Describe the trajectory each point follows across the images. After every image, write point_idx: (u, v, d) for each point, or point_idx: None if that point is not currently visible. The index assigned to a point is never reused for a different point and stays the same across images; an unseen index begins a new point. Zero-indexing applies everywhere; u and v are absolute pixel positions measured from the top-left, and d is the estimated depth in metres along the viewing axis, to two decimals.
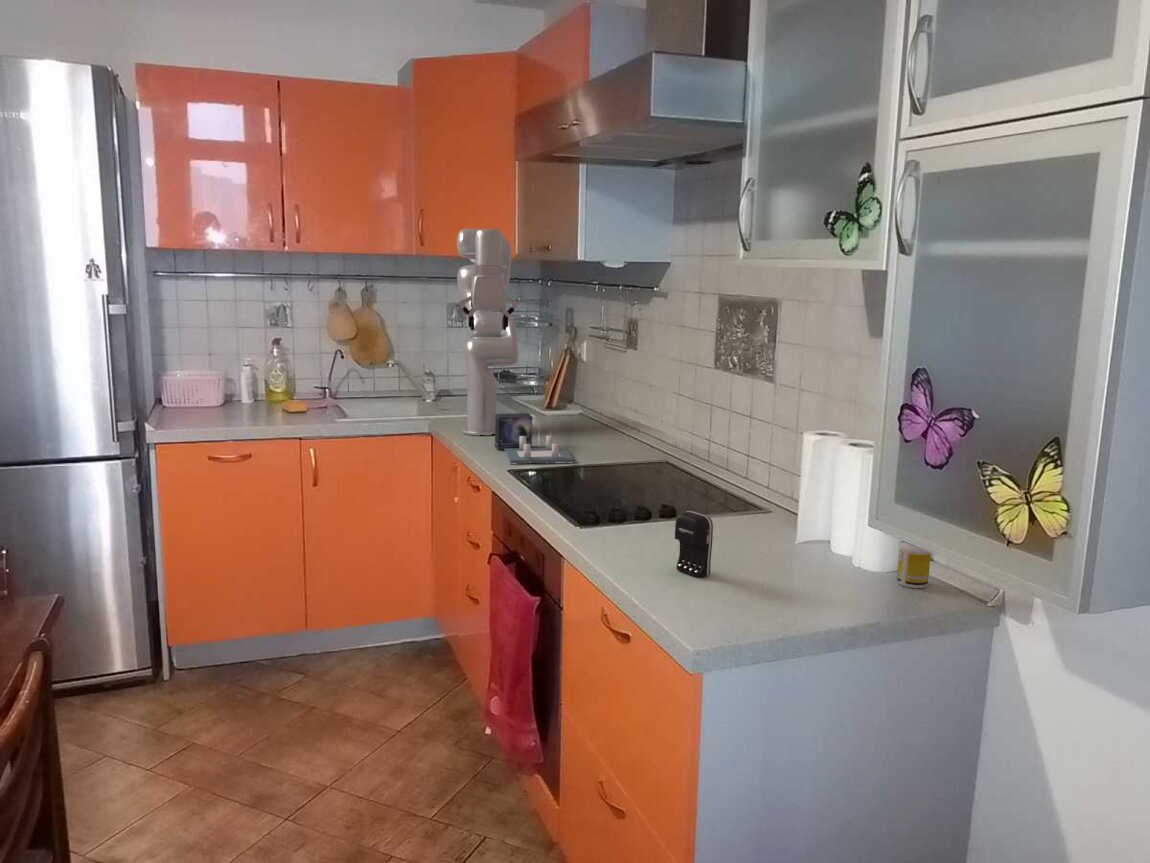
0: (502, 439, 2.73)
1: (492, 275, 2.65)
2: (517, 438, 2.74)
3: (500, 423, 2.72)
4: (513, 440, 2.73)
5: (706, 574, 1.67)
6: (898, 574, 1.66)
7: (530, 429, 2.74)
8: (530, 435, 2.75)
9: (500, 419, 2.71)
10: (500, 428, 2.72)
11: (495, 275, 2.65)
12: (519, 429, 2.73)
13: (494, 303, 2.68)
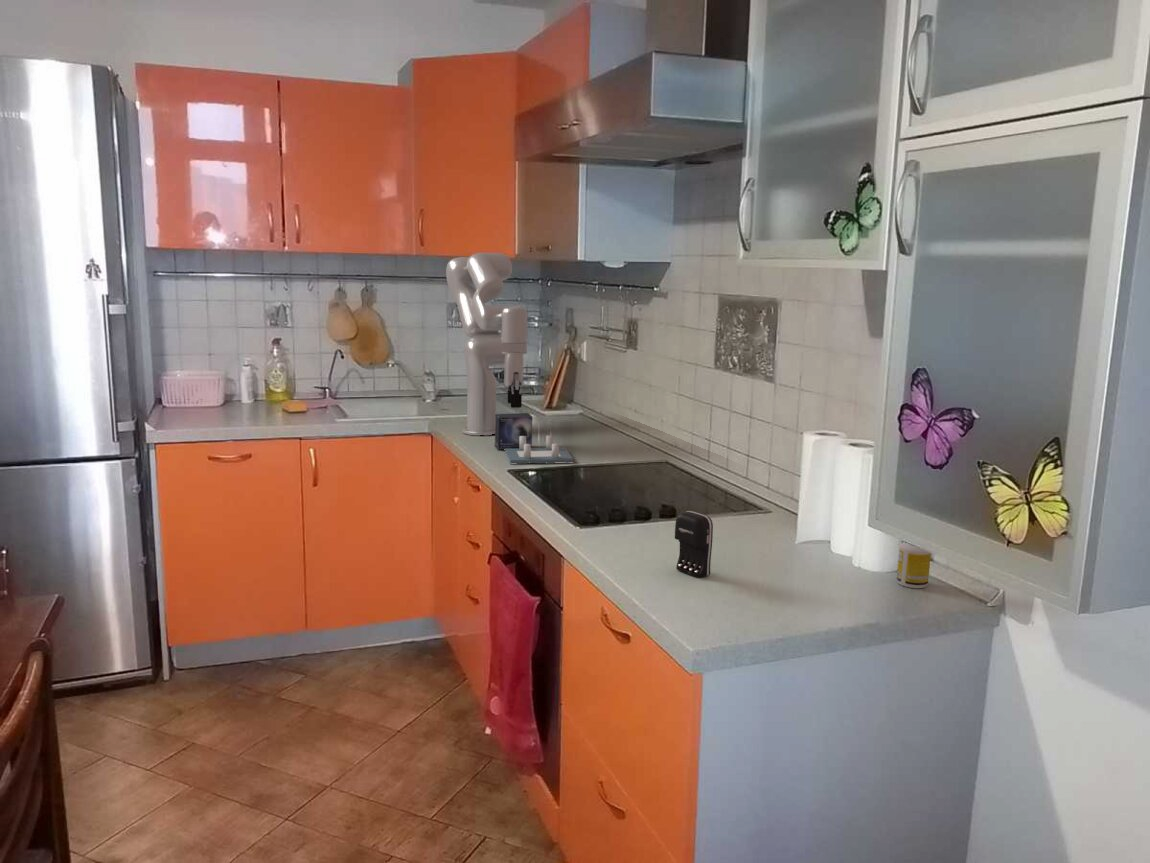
0: (502, 439, 2.73)
1: None
2: (517, 438, 2.74)
3: (500, 423, 2.72)
4: (513, 440, 2.73)
5: (706, 574, 1.67)
6: (898, 574, 1.66)
7: (530, 429, 2.74)
8: (530, 435, 2.75)
9: (500, 419, 2.71)
10: (500, 428, 2.72)
11: None
12: (519, 429, 2.73)
13: None
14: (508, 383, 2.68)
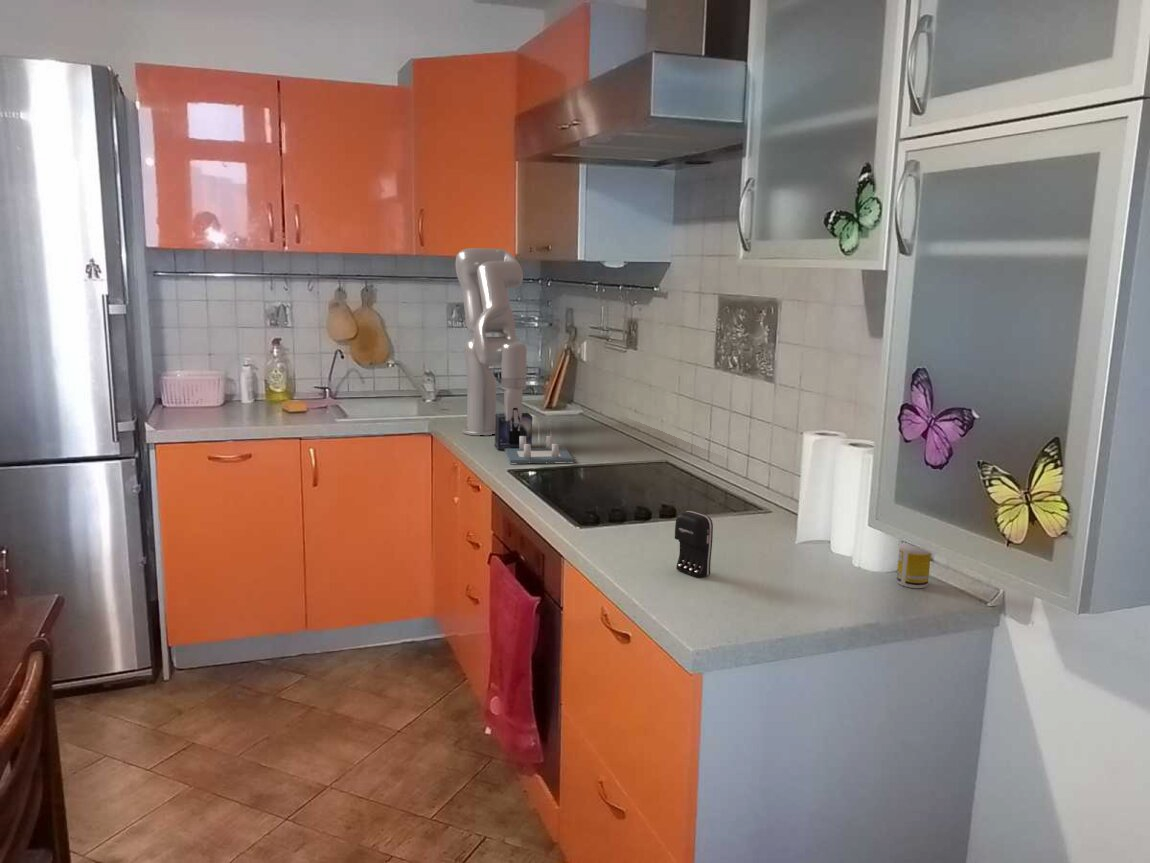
0: (502, 439, 2.73)
1: None
2: None
3: (500, 423, 2.72)
4: None
5: (706, 574, 1.67)
6: (898, 574, 1.66)
7: (530, 429, 2.74)
8: (530, 435, 2.75)
9: (500, 419, 2.71)
10: (500, 428, 2.72)
11: None
12: None
13: None
14: (507, 418, 2.70)
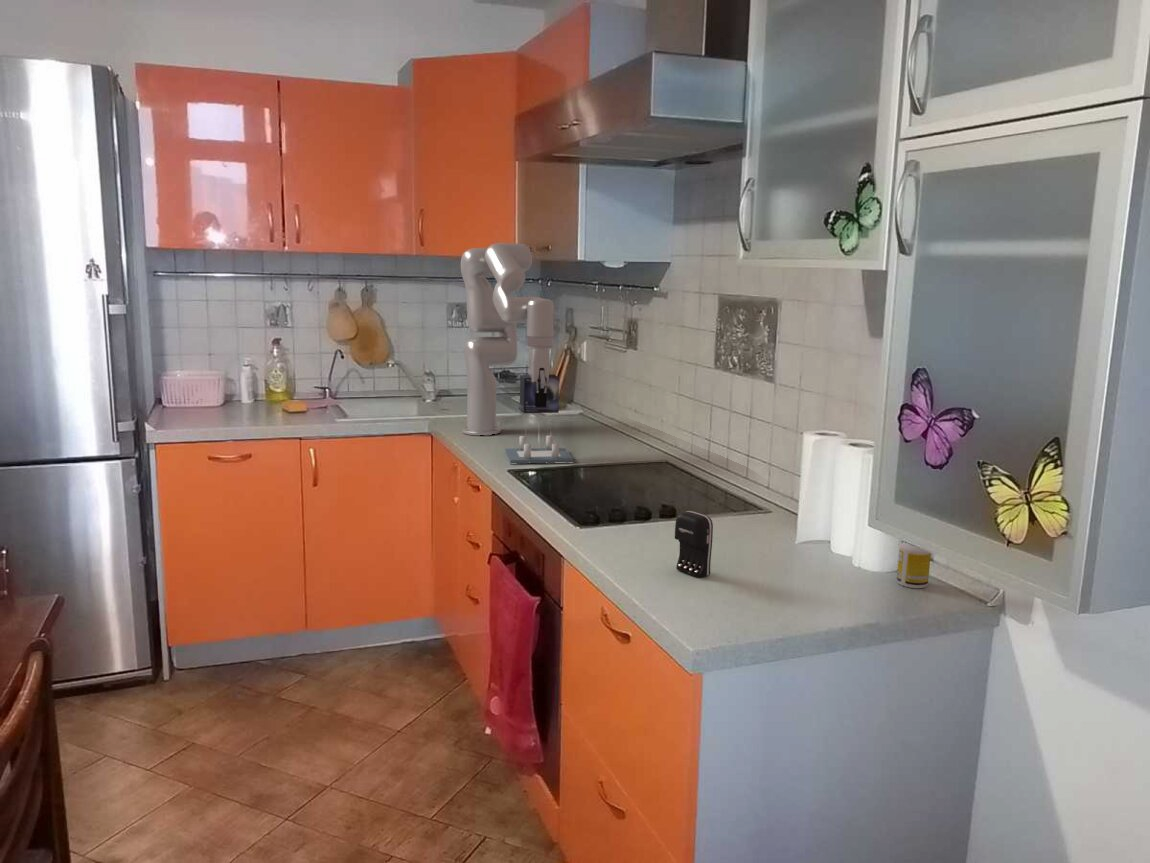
0: (528, 401, 2.58)
1: None
2: None
3: (525, 384, 2.56)
4: None
5: (706, 574, 1.67)
6: (898, 574, 1.66)
7: (557, 391, 2.59)
8: (557, 397, 2.60)
9: (525, 380, 2.56)
10: (525, 389, 2.57)
11: None
12: None
13: None
14: (533, 379, 2.55)
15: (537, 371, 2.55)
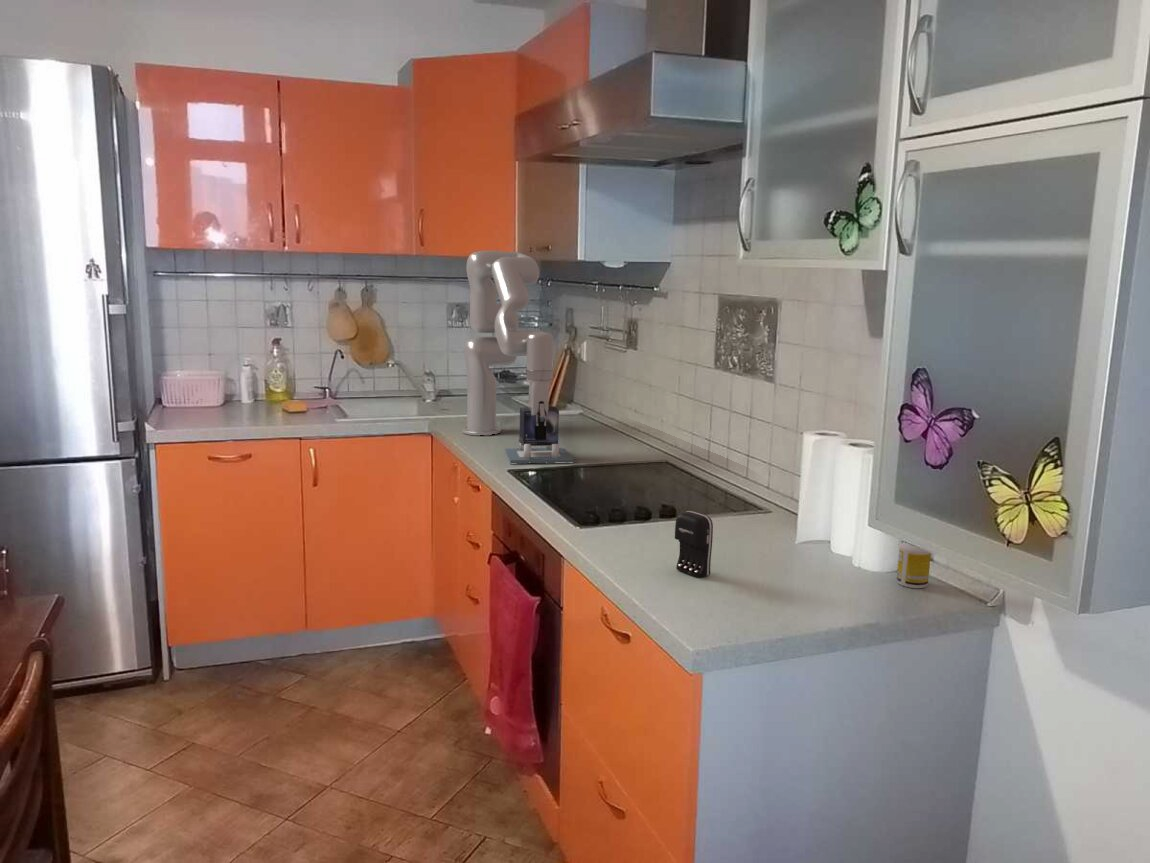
0: (528, 434, 2.59)
1: None
2: None
3: (525, 417, 2.58)
4: None
5: (706, 574, 1.67)
6: (898, 574, 1.66)
7: (556, 423, 2.61)
8: (556, 430, 2.61)
9: (525, 413, 2.58)
10: (525, 422, 2.59)
11: None
12: None
13: None
14: (533, 412, 2.57)
15: (537, 404, 2.56)
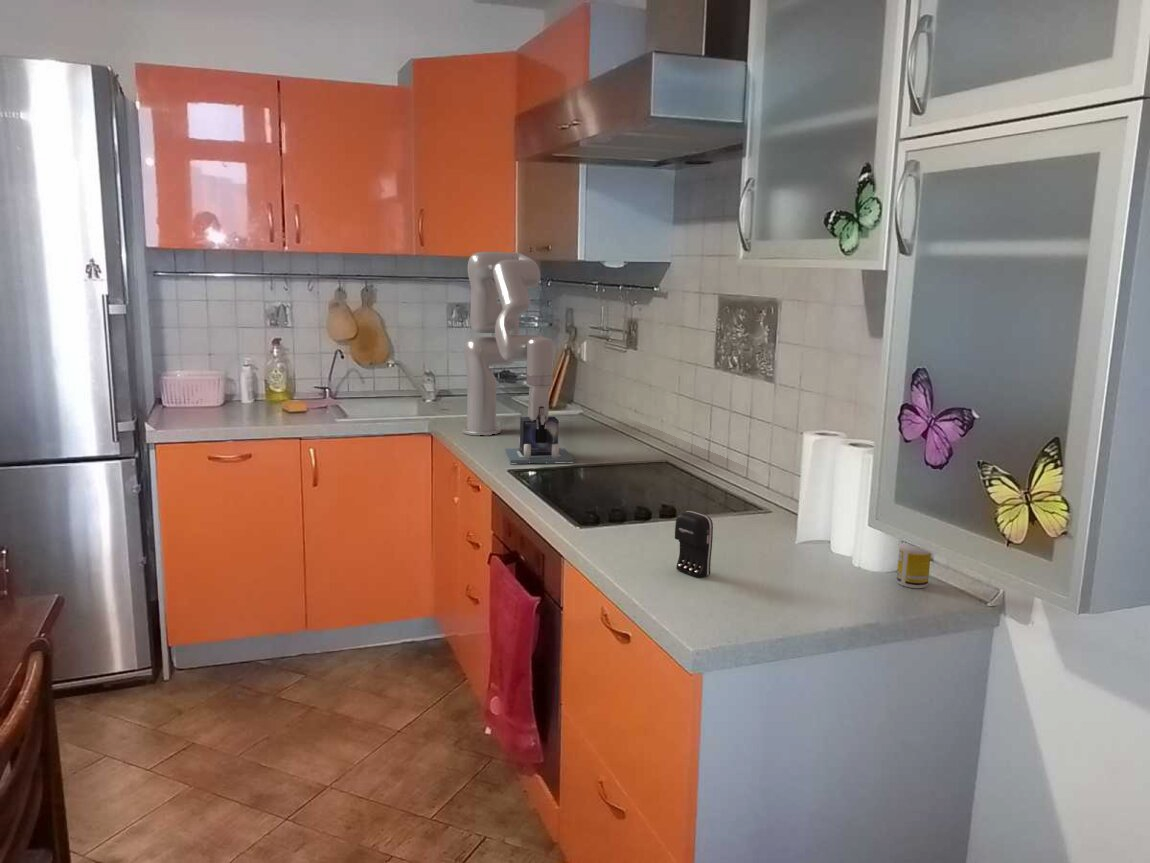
0: None
1: None
2: (543, 443, 2.61)
3: (524, 427, 2.59)
4: (538, 445, 2.61)
5: (706, 574, 1.67)
6: (898, 574, 1.66)
7: (556, 433, 2.61)
8: (556, 440, 2.62)
9: (524, 423, 2.59)
10: (524, 432, 2.59)
11: None
12: None
13: None
14: (533, 417, 2.57)
15: (537, 410, 2.57)
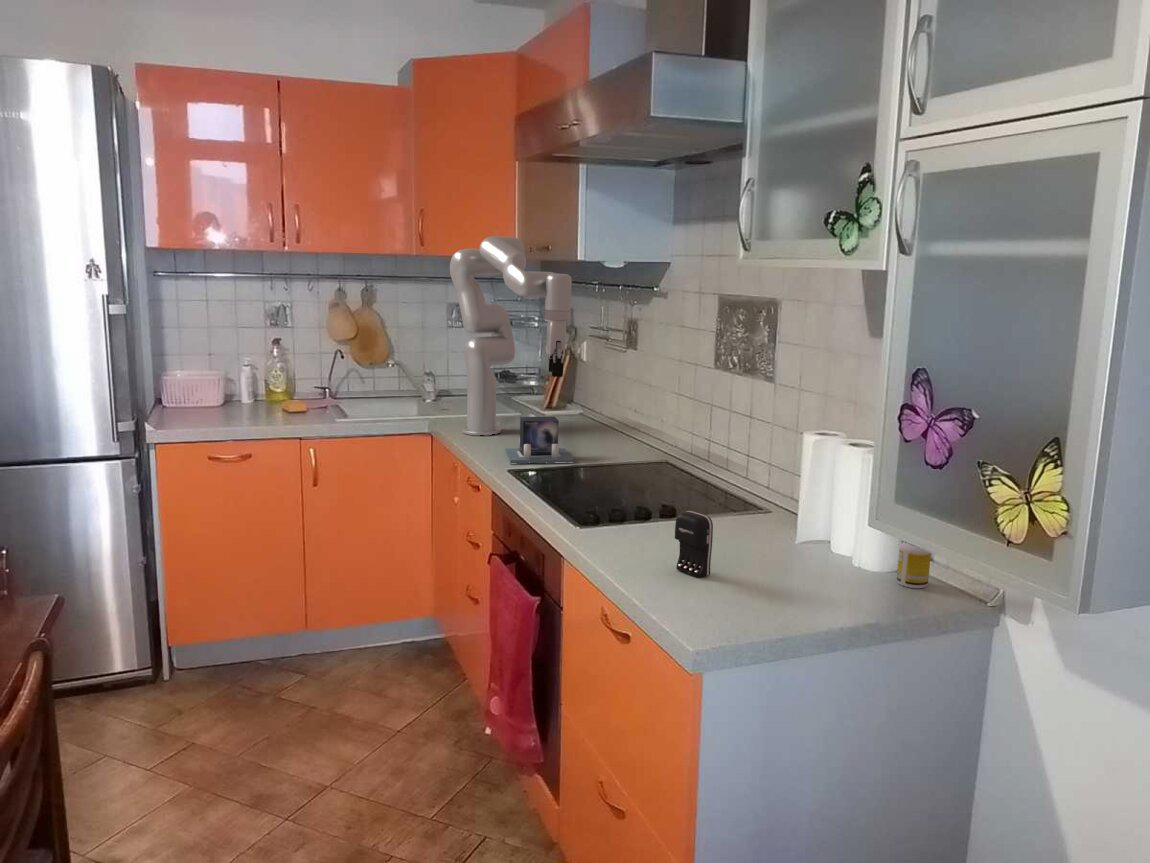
0: None
1: None
2: (543, 443, 2.61)
3: (524, 427, 2.59)
4: (538, 445, 2.61)
5: (706, 574, 1.67)
6: (898, 574, 1.66)
7: (556, 433, 2.61)
8: (556, 440, 2.62)
9: (524, 423, 2.59)
10: (524, 432, 2.59)
11: None
12: (544, 433, 2.60)
13: None
14: (550, 351, 2.63)
15: (554, 344, 2.62)
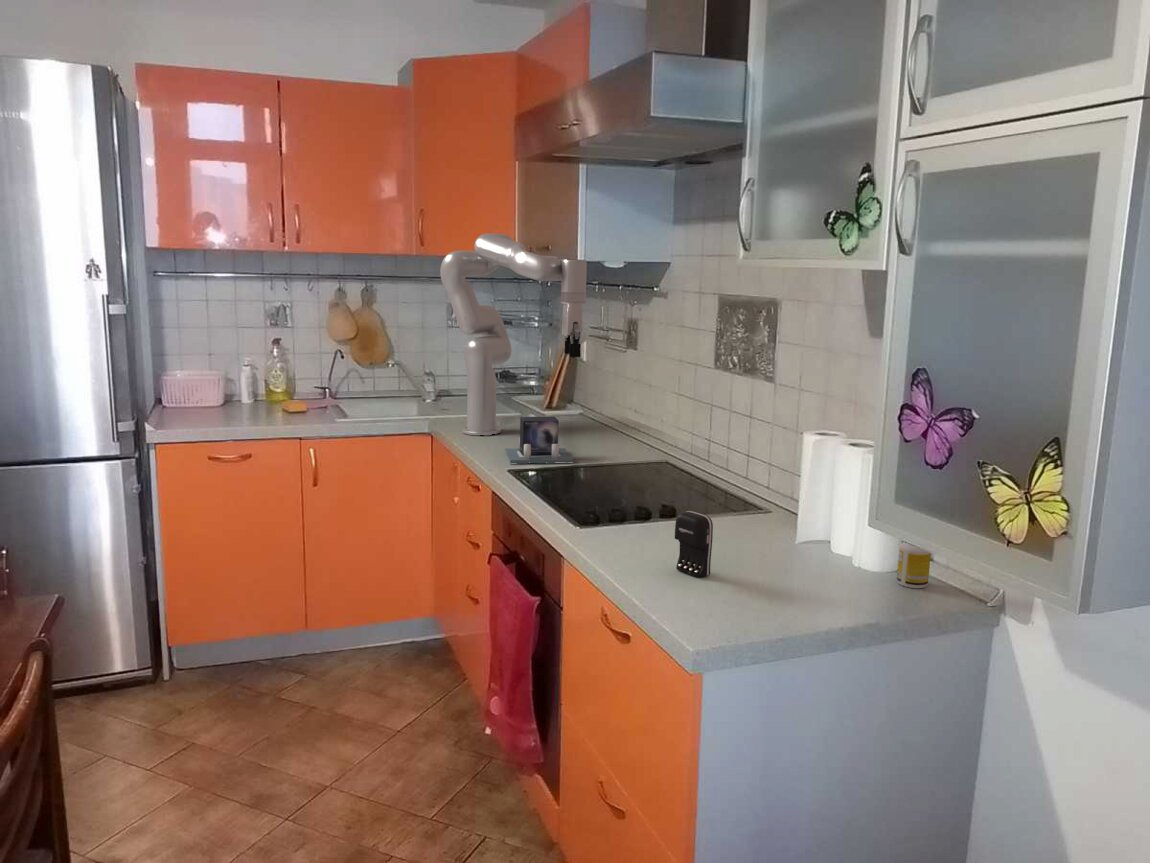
0: None
1: None
2: (543, 443, 2.61)
3: (524, 427, 2.59)
4: (538, 445, 2.61)
5: (706, 574, 1.67)
6: (898, 574, 1.66)
7: (556, 433, 2.61)
8: (556, 440, 2.62)
9: (524, 423, 2.59)
10: (524, 432, 2.59)
11: None
12: (544, 433, 2.60)
13: None
14: (567, 333, 2.70)
15: (571, 325, 2.70)
